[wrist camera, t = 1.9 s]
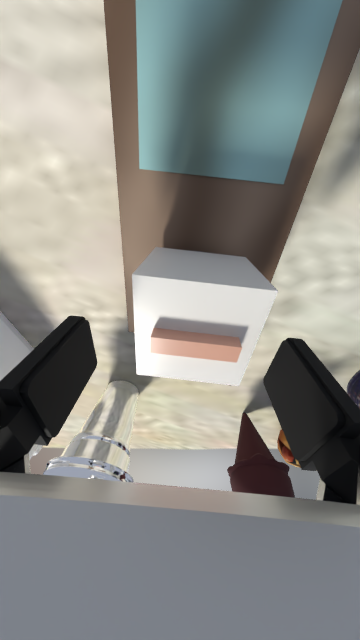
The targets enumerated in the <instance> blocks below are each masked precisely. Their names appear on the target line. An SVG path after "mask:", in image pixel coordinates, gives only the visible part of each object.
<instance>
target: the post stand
mask: <svg viewBox="0 0 360 640" xmlns="http://www.w3.org/2000/svg"><path fill="white" fill-rule="evenodd" d="M104 12H105V25H106V38H107V51H108V65H109V78H110V91H111V104H112V118H113V131H114V144H115V157H116V171H117V184H118V197H119V210H120V223H121V237H122V250H123V263H124V276H125V290H126V303H127V316H128V329H129V332H135V329H134V308H133V287H132V274H133V273H134V272H135V270H136V269H137V268H138V267H139V266H140V265H141V263H142V262H143V261H144V260H145V259H146V258H147V257H148V255H149V254H150V253H151V252H152V251H153V250H154V249H155V247H161V248H170V249H179V250H188V251H197V252H205V253H214V254H223V255H232V256H241V257H246V258H247V259H248V260H249V261H250V262H251V263H252V264H253V265H254V266H255V267H256V268H257V269H258V271H259V272H260V273H261V274H262V275H263V276H264V277H265V278H266V279H267V280H268V281H269V282H270V283H271V280H272V278H273V275H274V272H275V270H276V267H277V264H278V262H279V259H280V257H281V254H282V251H283V249H284V246H285V243H286V241H287V238H288V235H289V233H290V230H291V228H292V225H293V222H294V220H295V217H296V214H297V212H298V209H299V207H300V204H301V201H302V199H303V196H304V193H305V191H306V188H307V185H308V183H309V180H310V178H311V175H312V172H313V170H314V167H315V164H316V162H317V159H318V156H319V154H320V151H321V149H322V146H323V143H324V141H325V138H326V135H327V133H328V130H329V127H330V125H331V122H332V120H333V117H334V114H335V112H336V109H337V106H338V104H339V101H340V98H341V96H342V93H343V91H344V88H345V85H346V83H347V80H348V77H349V75H350V72H351V70H352V67H353V64H354V62H355V59H356V56H357V54H358V51H359V48H360V0H104Z"/></svg>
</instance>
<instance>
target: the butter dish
mask: <svg viewBox="0 0 360 640" xmlns="http://www.w3.org/2000/svg"><path fill="white" fill-rule="evenodd" d="M33 350H34V348H33V347H32V346H31V345H30V344H29V342H28V341H27V340H26V339H25V338H24V337H23V336H22V335H21V334H20V332H19V331H18V330H17V329H16V328H15V327H14V326H13V325H12V324H11V322H10V321H9V320H8V319H7V318H6V317H5V316H4V315H3V314H2V312H1V311H0V381H1V380H2V379H3V378H4V377H5V376H6V375H7V374H8V373H9V372H10V371H11V370H12V369H13V368H14V367H16V366H17V365H18V364H19V363H20V362H21V361H22V360H23V359H24V358H25V357H26V356H27V355H28V354H29V353H30V352H31V351H33ZM42 446H43V445H35V444H34V445H33V447H32V448H31V450H30V451H29V459H31V457H32V456H33V455H37V454H38V453H39V451H40V450H41V448H42Z"/></svg>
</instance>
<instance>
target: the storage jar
mask: <svg viewBox="0 0 360 640" xmlns="http://www.w3.org/2000/svg"><path fill="white" fill-rule="evenodd" d="M347 394H348V395H349V397H350V398H351V399H352V400H353V401H354V403H356V404H357V406H358V407H359V409H360V370H359V371H358V372H357V373H356V374H355V375H354V376H353V377H352V378H351V380H350V381H349V383H348V386H347Z"/></svg>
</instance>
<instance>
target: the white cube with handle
mask: <svg viewBox="0 0 360 640" xmlns="http://www.w3.org/2000/svg"><path fill="white" fill-rule="evenodd" d="M132 287H133V308H134V329H135V350H136V371H137V374H138V375H147V376H156V377H164V378H173V379H182V380H190V381H199V382H208V383H216V384H225V385H234V386H239V385H240V382H241V380H242V378H243V375H244V373H245V370H246V368H247V365H248V363H249V361H250V358H251V356H252V353H253V351H254V349H255V346H256V344H257V341H258V339H259V336H260V334H261V332H262V329H263V327H264V324H265V322H266V319H267V317H268V315H269V312H270V310H271V307H272V305H273V302H274V300H275V298H276V295H277V293H278V290H277V289H276V288H275V287H274V286H273V285H272V284H271V283H270V282H269V281H268V280H267V279H266V278H265V277H264V276H263V275H262V274H261V273H260V272H259V271H258V269H257V268H256V267H255V266H254V265H253V264H252V263H251V262H250V261H249V260H248V259H247V258H246V257H241V256H232V255H223V254H214V253H205V252H197V251H188V250H179V249H170V248H161V247H155V249H154V250H153V251H152V252H151V253H150V254H149V255H148V257H147V258H146V259H145V260H144V261H143V262H142V263H141V265H140V266H139V267H138V268H137V269H136V270H135V272H134V273H133V274H132Z"/></svg>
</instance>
